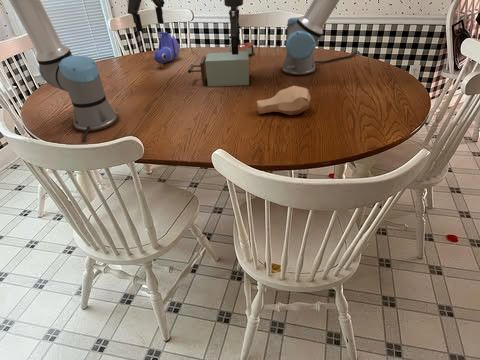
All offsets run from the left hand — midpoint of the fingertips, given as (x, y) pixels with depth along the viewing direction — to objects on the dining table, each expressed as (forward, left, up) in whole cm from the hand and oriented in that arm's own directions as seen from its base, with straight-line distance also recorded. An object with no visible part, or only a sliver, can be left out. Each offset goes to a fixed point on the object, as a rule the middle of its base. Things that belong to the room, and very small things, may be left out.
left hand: (150, 27), depth 152 cm
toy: (+24, +1, -23) cm, 34 cm away
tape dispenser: (+27, -38, -23) cm, 52 cm away
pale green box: (-5, -32, -23) cm, 40 cm away
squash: (-40, -54, -23) cm, 71 cm away
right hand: (-5, -36, -10) cm, 38 cm away
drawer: (-5, -26, -22) cm, 35 cm away
